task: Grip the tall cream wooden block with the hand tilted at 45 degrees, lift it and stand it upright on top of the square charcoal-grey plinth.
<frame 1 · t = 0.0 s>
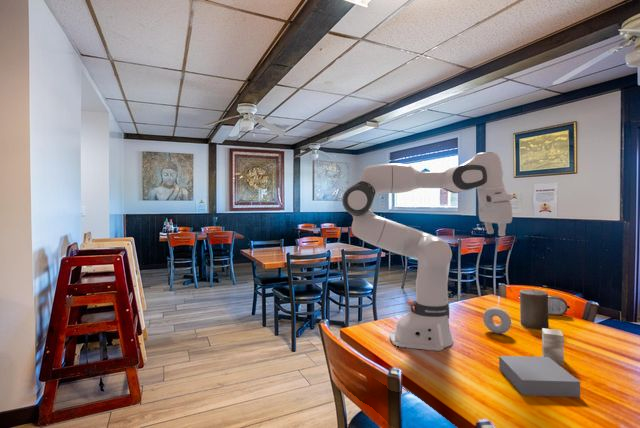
hand: (496, 234, 119), 39 cm above the table, tool pointing down, fingers open, 8 cm apart
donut: (497, 333, 128), on the table
cream block: (552, 359, 105), on the table
tin: (547, 314, 148), on the table
grey plinth: (536, 381, 92), on the table
pillar candle: (534, 325, 135), on the table
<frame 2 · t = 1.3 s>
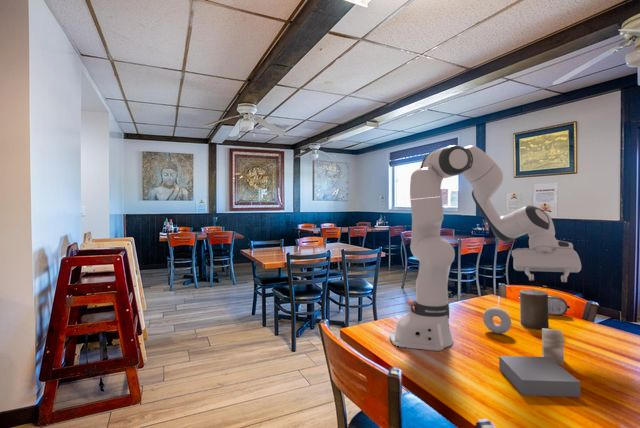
hand: (547, 280, 115), 23 cm above the table, tool tilted 45°, fingers open, 8 cm apart
nothing on the table moved.
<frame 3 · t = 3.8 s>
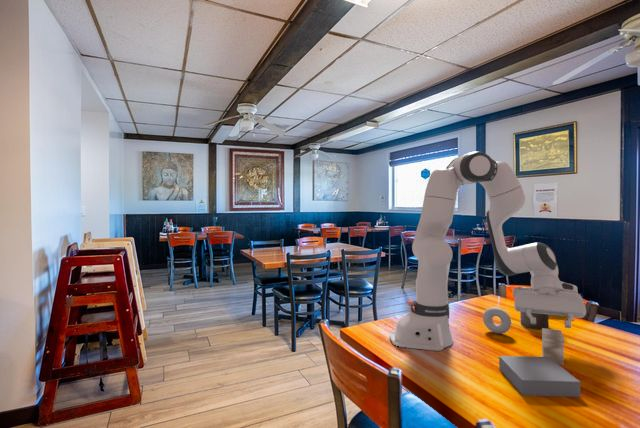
hand: (550, 325, 109), 9 cm above the table, tool tilted 45°, fingers open, 8 cm apart
nothing on the table moved.
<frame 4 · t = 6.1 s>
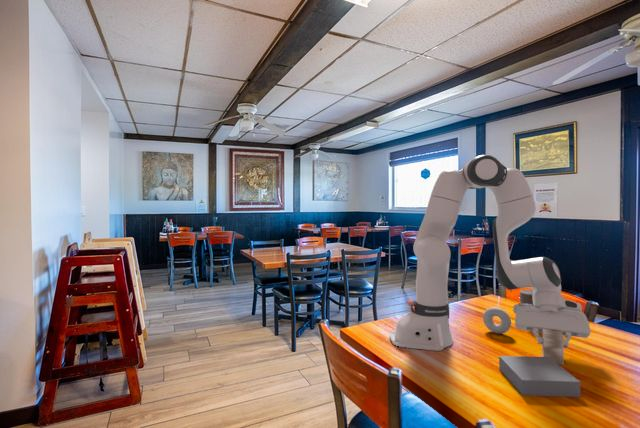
hand: (552, 345, 104), 5 cm above the table, tool tilted 45°, fingers closed on cream block, 5 cm apart
cream block: (552, 359, 105), on the table, touching gripper
everything else where it was.
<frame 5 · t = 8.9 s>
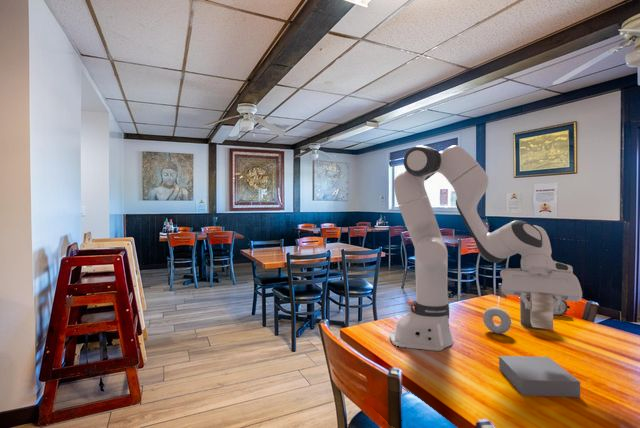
hand: (541, 309, 96), 19 cm above the table, tool tilted 45°, fingers closed on cream block, 5 cm apart
cream block: (541, 325, 97), point 14 cm above the table, touching gripper
everything else where it was.
when the fingers open (10 cm above the table, at t = 11.9 s): cream block drops 1 cm, resting on grey plinth.
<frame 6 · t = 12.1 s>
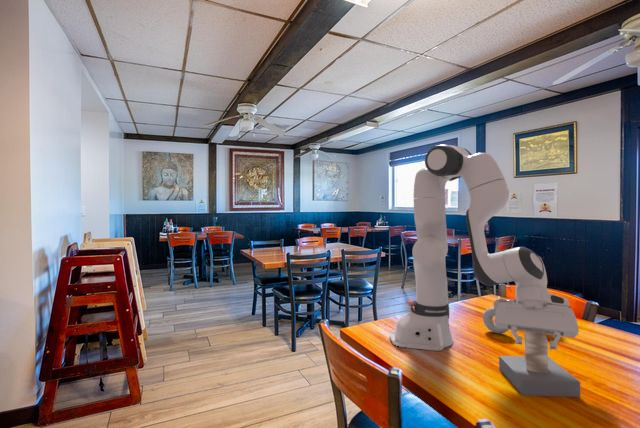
hand: (536, 346, 92), 10 cm above the table, tool tilted 45°, fingers open, 7 cm apart
cream block: (536, 367, 92), point 4 cm above the table, touching grey plinth
everything else where it was.
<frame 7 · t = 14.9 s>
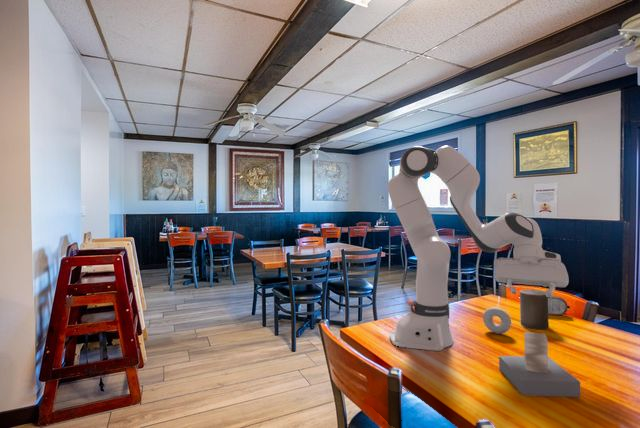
hand: (531, 294, 104), 21 cm above the table, tool tilted 45°, fingers open, 8 cm apart
nothing on the table moved.
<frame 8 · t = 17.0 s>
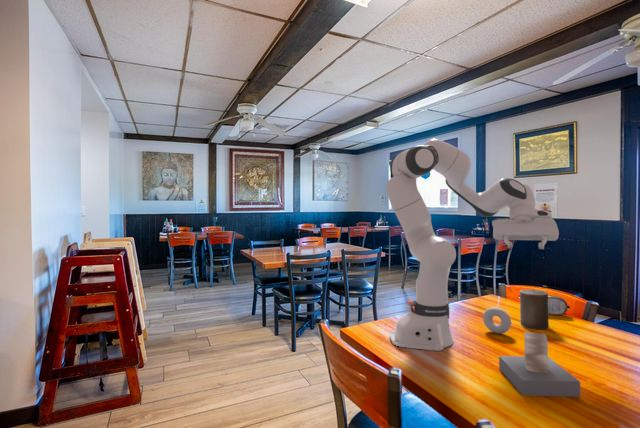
hand: (525, 247, 116), 34 cm above the table, tool tilted 45°, fingers open, 8 cm apart
nothing on the table moved.
at the end: cream block inside the target area on the grey plinth (0.1 cm from its centre), point 4.0 cm above the grey plinth's base; cream block tilted 0°; the gripper is holding nothing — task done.
